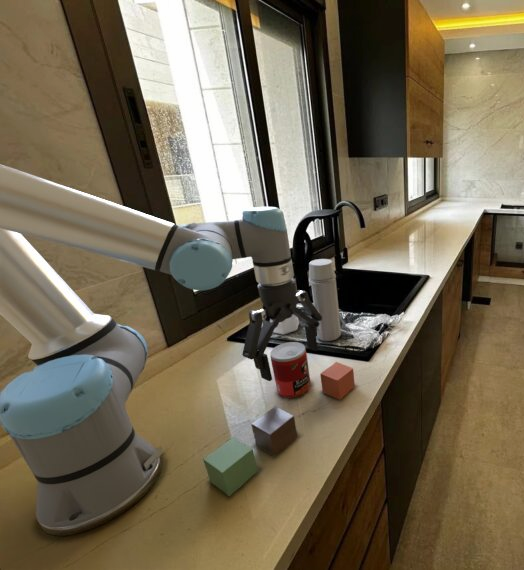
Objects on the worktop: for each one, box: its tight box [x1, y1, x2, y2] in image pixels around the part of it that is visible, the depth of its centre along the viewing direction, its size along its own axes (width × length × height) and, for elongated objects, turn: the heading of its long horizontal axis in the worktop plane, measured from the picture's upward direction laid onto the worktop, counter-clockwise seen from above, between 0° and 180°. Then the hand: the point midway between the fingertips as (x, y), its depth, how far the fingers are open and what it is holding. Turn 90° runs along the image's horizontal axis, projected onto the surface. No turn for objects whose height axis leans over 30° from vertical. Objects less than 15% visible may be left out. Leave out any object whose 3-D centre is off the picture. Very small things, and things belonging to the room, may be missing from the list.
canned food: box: [270, 341, 311, 399], centre depth 79 cm, size 8×8×11 cm
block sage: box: [202, 436, 259, 497], centre depth 57 cm, size 6×6×6 cm
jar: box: [270, 305, 300, 335], centre depth 107 cm, size 9×8×12 cm
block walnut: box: [250, 405, 298, 457], centre depth 65 cm, size 6×6×6 cm
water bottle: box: [308, 258, 342, 342], centre depth 99 cm, size 9×8×25 cm
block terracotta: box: [320, 361, 356, 400], centre depth 80 cm, size 6×6×6 cm
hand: (291, 362), depth 78 cm, fingers open, 13 cm apart
